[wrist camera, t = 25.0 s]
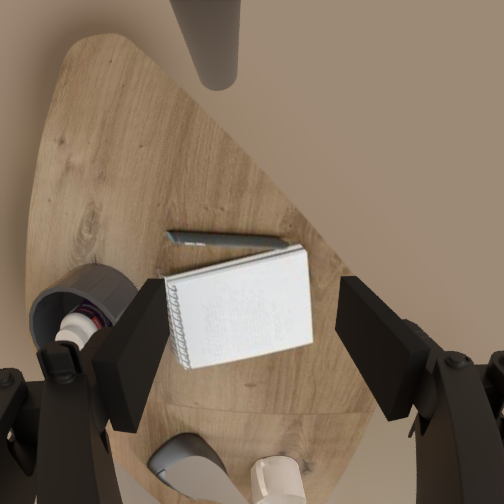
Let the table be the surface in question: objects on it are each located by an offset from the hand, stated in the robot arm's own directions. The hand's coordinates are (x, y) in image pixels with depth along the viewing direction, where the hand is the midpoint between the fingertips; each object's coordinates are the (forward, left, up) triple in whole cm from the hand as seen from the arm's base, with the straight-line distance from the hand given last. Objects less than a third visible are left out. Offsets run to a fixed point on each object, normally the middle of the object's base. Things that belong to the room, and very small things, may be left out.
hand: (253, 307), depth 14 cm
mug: (+44, +4, -25) cm, 51 cm away
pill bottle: (+11, -20, -24) cm, 33 cm away
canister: (+11, -20, -25) cm, 33 cm away
